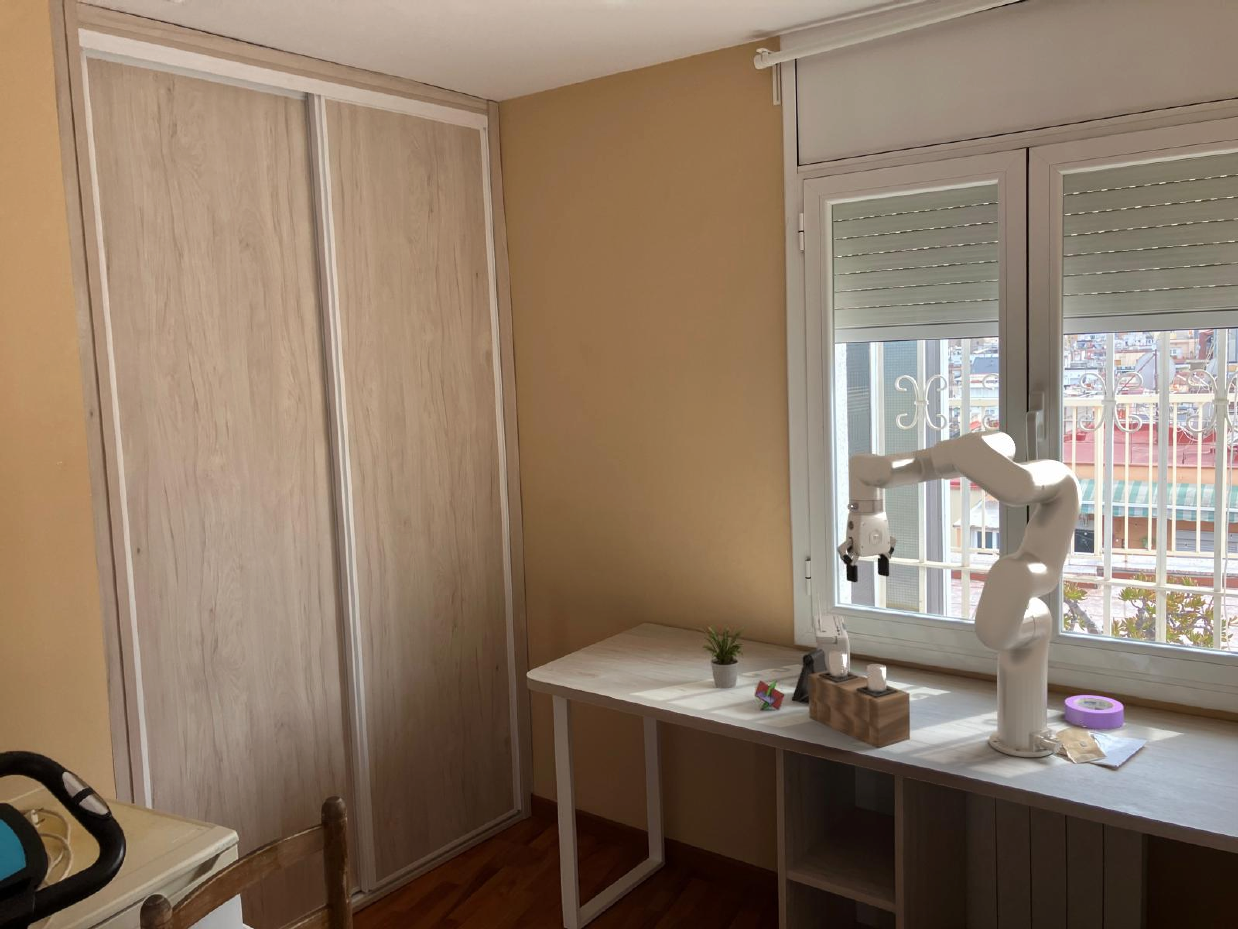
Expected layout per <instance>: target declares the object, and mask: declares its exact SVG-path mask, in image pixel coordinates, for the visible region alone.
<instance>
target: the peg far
mask: <svg viewBox="0 0 1238 929" xmlns="http://www.w3.org/2000/svg"><path fill="white" fill-rule="evenodd" d="M829 677H832V678H834V679H837V680H839V679H843V678H847V677H848V670H847V653H846V652H843V651H832V652H830V653H829Z"/></svg>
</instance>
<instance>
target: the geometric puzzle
mask: <svg viewBox="0 0 1238 929" xmlns="http://www.w3.org/2000/svg"><path fill="white" fill-rule="evenodd" d="M777 683H778V685H779V688H780V690H782V687H781V685H780V684H781V683H780V682H779V680H775V681H774V682H773V683H771V684H769V683H768V684H767V683H766V682H764V681H763V680H759V681H758V682H757V683H756V685H755V686H754V697H755V700H757V704H758V706H759V708H760V711H763V710H765V709H766V708H767V707H769V706H771V707H772V708H774V709H775V710H777V711H780V708H781V706H782V703H783V700H784V697H785V693H784V692H782V691H780V690H778V689H776V687H777ZM758 699H759V700H760V701H763V703H762V706H760V704H759V701H758Z"/></svg>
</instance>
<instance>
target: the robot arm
mask: <svg viewBox="0 0 1238 929" xmlns="http://www.w3.org/2000/svg"><path fill="white" fill-rule="evenodd" d="M1015 455H1016V446H1015V443H1014V441H1013V439H1012V438H1011V436H1010V435H1008V434H1007V433H1005V432H1003V431H1000V430H996V429H995V430H994V429H991V430H982V431H973V432H967V433H965V434H962V435H960V436H958V437H953V438H948V439H944V440H943V439H942V440H940V441H937V442H936V443H935V444H934V446H931V447H928V448H927V447H926V448H922V449H918V450H913V451H905V452H899V453H891V454H885V455H879V454H877V453H857V454H853V455H851V456H850V457H849V459H848V471H849V472H848V479H849V481H848V483H849V487H848V488H849V503H848V504H847V509H848V510H849V513H848V515H847V519H846V520H847V522H846V531H845V541H843V542H842V543H841V544H840V545H839V546H838V547H837V548H836V551H837V552H838V555H839V558H840V560H841V561H842V562H843V564H844V565H845V566H846V568H845V570H846V571H845V573H846V580H847V582H851V583H858V581H859V579H858V578H859V575H858V574H859V573H858V572H859V570H858V567H859V566H858V565H857V564H856V563H857V562H858V560H859V558H860V557H861V558H866V557H871V556H879V557H878V558H877V574H878V575H879V576H883V577H890V560H891V559H892V554H893V553H894V551H895V547H896V544H897V541H898V540H897V539H896V538H894V537H892V535H891V533H890V525H889V518H888V516H887V512H886V511H885V510H884V497H883V495H884V494H883V490H884V489H892V488H899V487H903V486H911V485H915V484H916V485H917V484H922V483H925V482H931V481H936V480H942V479H943V480H945V481H947V480H953V479H958V478H966V479H967V480H969V481H970V482H971V483H973V484H974V485H976V486H977V487H978V488H980V489H981V490H982V491H984V492H985V493H987V494H988V495H989V496H991V497H993V498H994V499H995V500H996V501H998V502H1000V503H1002V504H1003V505H1006V506H1009V507H1014V508H1022V507H1026V506H1031V505H1035V504H1037V506H1036V509H1035V511H1034V513H1033V514H1032V515H1031V517H1030V519H1029V521H1028V522H1027V525H1026V527H1025V532H1024V535H1023V539H1022V541H1021V544H1020V546H1019V548H1018V549H1017V551H1015V552H1013V553H1010V554H1007V555H1006V554H1005V555H1004V556H1002V557H1000V558H998V559H996V561H995V562H994V563H993V564H992V565H991V567H990V568H989V570H988V572H987V574H986V576H985V580H984V584H983V586H982V587H983V588H982V591H981V593H980V597H979V601H978V604H977V608H976V611H975V615H974V622H973V623H974V624H973V625H974V626H973V627H974V628H973V629H974V632H975V635H976V639H977V641H978V642H979V643H980V644H981V645H982V646H983V647H984V648H985V649H987V650H989V651H992V652H997V653H998V655H997V670H996V671H997V672H996V674H997V678H996V679H997V680H996V682H997V683H996V684H997V686H996V688H997V690H996V691H997V692H996V693H997V694H996V697H997V698H996V699H997V701H996V704H997V705H996V706H997V707H996V708H997V710H996V713H997V714H996V716H997V718H996V720H997V722H996V726H997V727H996V729H997V731H995V732H992V733H991V735H989V738H988V739H989V741H988V742H989V745H990V747H992V748H993V749H995V750H996V751H998V752H1000V753H1003V754H1006V755H1009V756H1015V757H1021V758H1041V757H1046V756H1049V755H1051V754H1052V753H1054V754H1057V753H1059V752H1060V750H1061V747H1062V745H1063V741H1062V740H1061V739H1058V738H1055V737H1053V736H1052V734H1053V733H1052V728H1050V727H1048V662H1049V661H1048V660H1049V659H1048V658H1049V648H1050V642H1051V636H1052V632H1053V618H1052V613H1051V610H1050V609H1049V607H1048V605H1047V604H1046V603H1045V602H1044V601H1043V600H1042V599H1040V597H1043V596H1045V595H1048V594H1049V593H1051V592H1053V591H1054V590H1055V589H1056V588H1057V587H1058V584H1059V581H1060V579H1061V576H1062V571H1063V568H1064V565H1065V562H1066V560H1067V559H1066V558H1067V555H1068V552H1069V549H1070V545H1071V541H1072V539H1073V535H1074V532H1075V530H1076V527H1077V524H1078V521H1079V518H1080V515H1081V510H1082V506H1083V505H1082V504H1083V493H1082V489H1081V485H1080V482H1079V480H1078V478H1077V477H1076V474H1074V472H1073V471H1072V470H1071V469H1070V468H1069V467H1068V466H1067V465H1065V464H1063V463H1062V462H1061V461H1057V460H1054V459H1051V458H1050V459H1048V458H1043V459H1042V458H1041V459H1040V458H1039V459H1034V460H1028V461H1022V462H1015V461H1013V460H1014V458H1015Z"/></svg>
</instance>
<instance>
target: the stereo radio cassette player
mask: <svg viewBox="0 0 1238 929" xmlns="http://www.w3.org/2000/svg"><path fill="white" fill-rule="evenodd" d="M816 594H817V599H818V600H817V601H818V602H817V604H818V606H817V607H818V609H817V610H818V615H814V616H812V617H813V618H812V622H813V629H814V636H815V642H816V648H818V650H820V649H822V650H823V651H824V653H825V664H826V666H827V669H828V670H829V653H830V652H832V651H843V652H846V653H847V670H848V671H849V672H851V660H850V659H851V654H850V653H851V651H850V650H851V649H850V641H849V635H848V632H847V627H846V625H845V621H844V617H843V616H841V615H822V614H821V613H822V612H821V603H820V596H819V595H820V591H817V593H816ZM818 650H816V651H818Z"/></svg>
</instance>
